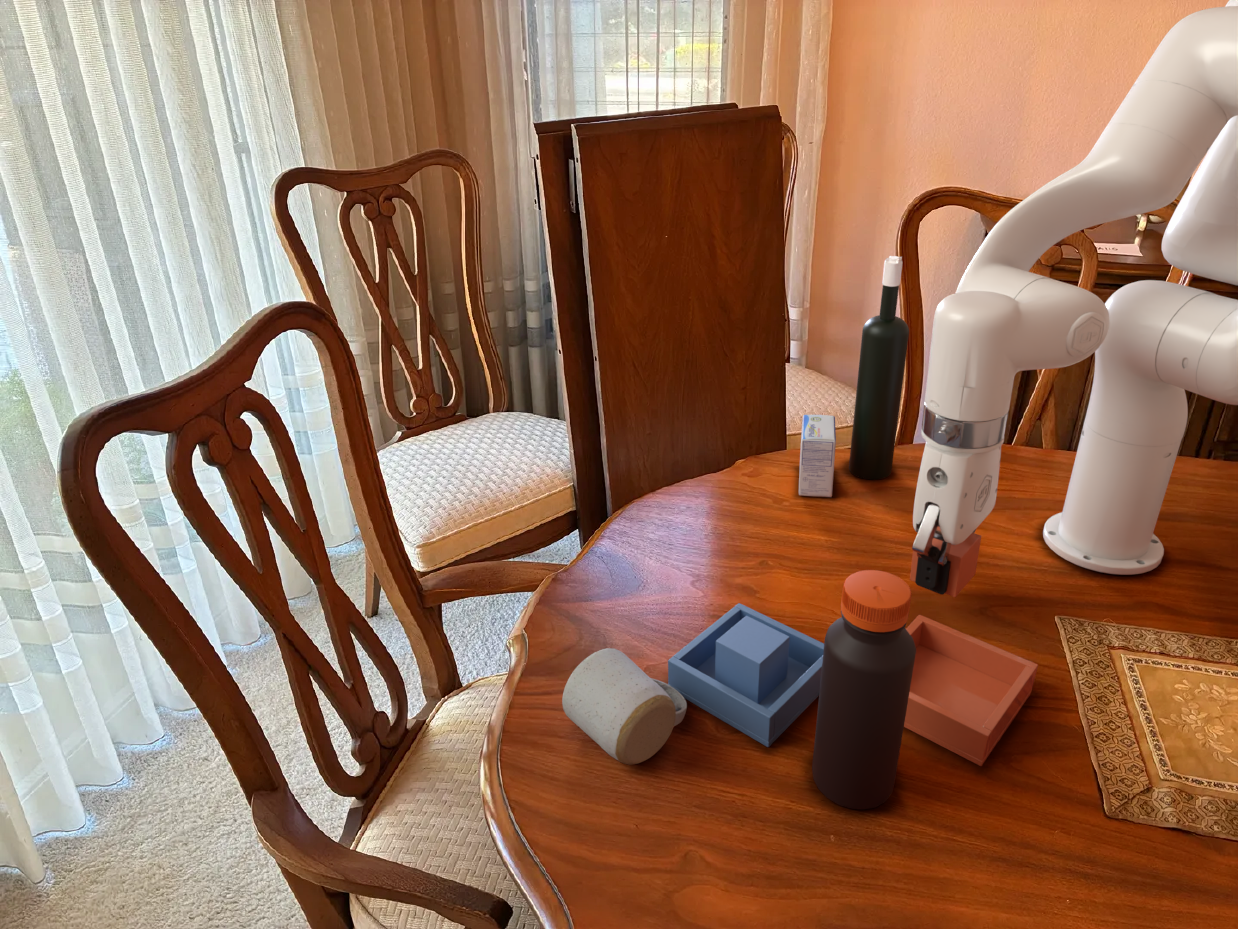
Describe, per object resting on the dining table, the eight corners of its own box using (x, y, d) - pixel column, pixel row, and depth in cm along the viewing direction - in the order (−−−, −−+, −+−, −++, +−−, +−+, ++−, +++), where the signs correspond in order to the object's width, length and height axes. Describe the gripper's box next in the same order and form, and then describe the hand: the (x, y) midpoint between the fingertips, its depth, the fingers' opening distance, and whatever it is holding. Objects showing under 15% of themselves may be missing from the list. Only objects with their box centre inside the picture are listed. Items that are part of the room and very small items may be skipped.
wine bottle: (899, 476, 118) (927, 260, 104) (860, 482, 117) (884, 265, 103) (878, 458, 123) (903, 249, 109) (841, 463, 122) (861, 254, 108)
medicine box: (831, 499, 114) (837, 440, 110) (797, 496, 115) (801, 438, 110) (831, 470, 120) (836, 414, 116) (798, 468, 121) (802, 413, 117)
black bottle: (910, 797, 71) (945, 603, 62) (840, 823, 69) (865, 627, 60) (862, 739, 77) (887, 554, 67) (796, 762, 75) (812, 574, 65)
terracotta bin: (914, 642, 88) (919, 614, 86) (1031, 693, 81) (1038, 664, 79) (858, 704, 81) (862, 674, 79) (981, 767, 74) (988, 736, 72)
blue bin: (737, 629, 91) (738, 602, 89) (835, 679, 84) (838, 650, 82) (667, 688, 83) (667, 660, 82) (768, 747, 76) (770, 718, 75)
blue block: (744, 654, 86) (746, 615, 84) (787, 676, 83) (790, 636, 81) (714, 681, 83) (715, 640, 81) (757, 705, 80) (759, 664, 78)
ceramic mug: (620, 787, 73) (618, 719, 69) (562, 733, 79) (557, 668, 75) (707, 725, 79) (709, 661, 75) (647, 680, 85) (647, 618, 81)
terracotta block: (930, 558, 94) (935, 519, 92) (975, 574, 91) (981, 535, 89) (909, 580, 91) (913, 541, 89) (955, 597, 88) (961, 558, 86)
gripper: (964, 469, 75) (941, 631, 84) (1037, 400, 85) (1009, 550, 94) (884, 446, 79) (871, 602, 88) (963, 383, 90) (943, 527, 99)
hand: (943, 573), depth 91 cm, fingers closed on terracotta block, 5 cm apart
